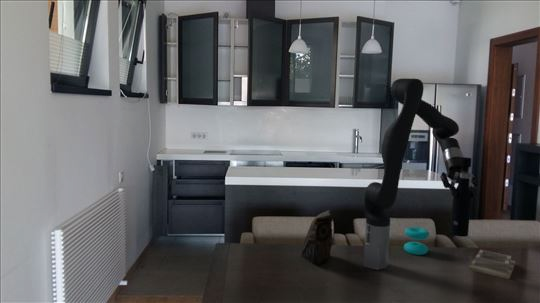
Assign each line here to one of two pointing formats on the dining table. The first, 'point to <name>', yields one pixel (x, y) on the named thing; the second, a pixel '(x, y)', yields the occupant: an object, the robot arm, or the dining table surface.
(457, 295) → the dining table surface
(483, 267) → the bottle stand
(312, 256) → the owl
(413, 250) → the donuts
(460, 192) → the wine bottle
